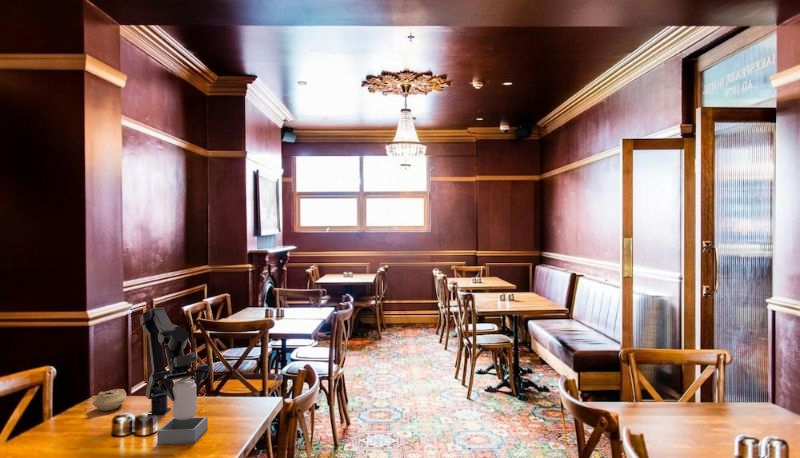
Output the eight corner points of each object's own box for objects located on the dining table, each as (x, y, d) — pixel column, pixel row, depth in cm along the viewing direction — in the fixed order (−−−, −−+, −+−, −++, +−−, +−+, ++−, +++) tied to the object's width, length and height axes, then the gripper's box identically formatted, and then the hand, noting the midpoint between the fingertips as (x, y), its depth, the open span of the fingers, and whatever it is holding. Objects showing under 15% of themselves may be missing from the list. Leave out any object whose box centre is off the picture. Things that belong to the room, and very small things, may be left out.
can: (179, 422, 169) (179, 385, 169) (168, 417, 173) (168, 381, 174) (201, 416, 174) (200, 380, 175) (189, 411, 179) (189, 376, 179)
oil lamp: (133, 401, 213) (133, 381, 213) (116, 413, 198) (116, 392, 198) (105, 402, 212) (105, 382, 212) (86, 415, 197) (86, 394, 197)
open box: (172, 430, 179) (172, 417, 179) (207, 429, 180) (207, 416, 180) (157, 444, 167) (157, 430, 167) (195, 443, 168) (194, 429, 168)
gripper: (151, 349, 171) (160, 390, 163) (208, 341, 183) (219, 379, 174) (145, 368, 177) (154, 408, 169) (201, 359, 189) (211, 397, 180)
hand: (185, 397), depth 173 cm, fingers closed on can, 7 cm apart
